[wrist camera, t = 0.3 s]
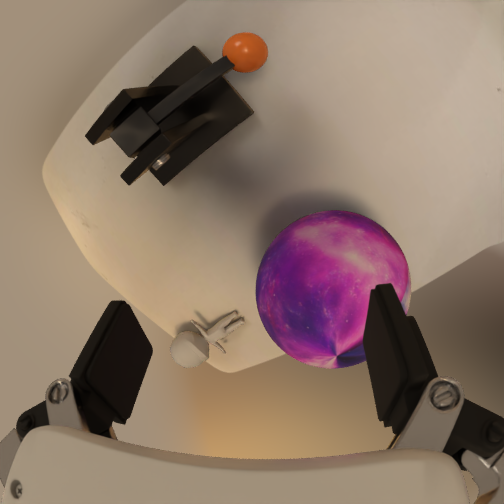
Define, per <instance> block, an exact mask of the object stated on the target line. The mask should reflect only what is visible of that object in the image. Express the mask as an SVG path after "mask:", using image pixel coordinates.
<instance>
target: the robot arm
mask: <svg viewBox="0 0 504 504" xmlns="http://www.w3.org/2000/svg"><path fill="white" fill-rule="evenodd" d="M363 348H364V352H365V356H366V361H367V365H368V369H369V374H370V379H371V383H372V388H373V393H374V398H375V404H376V409H377V414H378V419H379V421H383V422H384V427H389V426H392V430H393V433H394V434H395V436H394V437H393V439H392V441H391V442H390V444H389V445H388V447H387V449H386V450H379V451H371V452H363V453H355V454H348V455H339V456H330V457H316V458H301V459H236V458H220V457H209V456H200V455H192V454H184V453H177V452H171V451H165V450H160V449H154V448H149V447H144V446H139V445H135V444H130V443H126V442H122V441H118V439H117V437H116V435H115V433H114V430H113V427H112V422H113V421H114V422H116V423H120V424H125V423H126V420H127V419H128V418H130V416H131V413H132V410H133V407H134V404H135V401H136V398H137V395H138V392H139V390H140V387H141V384H142V381H143V378H144V376H145V373H146V370H147V367H148V364H149V361H150V359H151V356H152V353H153V348H152V345H151V344H150V342H149V340H148V338H147V337H146V335H145V333H144V331H143V330H142V328H141V326H140V324H139V322H138V320H137V318H136V317H135V315H134V313H133V311H132V309H131V307H130V305H129V304H127V303H126V302H125V301H111V302H110V303H109V305H108V306H107V308H106V310H105V311H104V313H103V315H102V316H101V318H100V320H99V321H98V323H97V325H96V327H95V328H94V330H93V332H92V334H91V335H90V337H89V339H88V341H87V343H86V344H85V346H84V348H83V350H82V352H81V354H80V355H79V357H78V359H77V361H76V363H75V365H74V367H73V369H72V371H71V373H70V375H69V377H70V378H71V381H70V382H69V381H68V380H67V379H64V378H60V379H57V380H55V381H54V382H52V383H51V384H50V386H49V388H48V389H47V391H46V398H45V399H46V400H45V401H43V402H42V403H40V404H38V405H36V406H34V407H32V408H31V409H29V410H27V411H25V412H24V413H23V414H21V416H20V417H19V419H18V421H17V425H16V429H17V430H16V429H15V428H14V429H13V430H12V431H11V432H10V433H9V434H8V435H7V436H6V437H5V438H4V439H3V440H2V441H1V442H0V479H1V482H2V484H3V486H4V488H5V489H4V493H3V497H2V501H1V504H470V502H469V496H468V491H467V487H466V483H465V480H464V476H463V474H462V471H461V470H464V471H467V470H468V471H469V472H470V473H471V475H472V476H473V478H472V479H473V480H474V481H475V483H476V484H477V486H478V488H479V494H478V497H477V500H476V501H475V502H474V504H504V418H502V417H501V416H499V415H497V414H495V413H493V412H491V411H489V410H487V409H485V408H483V407H481V406H479V405H477V404H475V403H473V402H471V401H469V400H467V399H465V398H464V390H463V388H462V386H461V384H460V383H459V382H458V381H457V380H455V379H454V378H452V377H448V376H440V377H438V375H437V372H436V369H435V366H434V364H433V361H432V359H431V356H430V353H429V351H428V348H427V346H426V343H425V341H424V338H423V336H422V334H421V331H420V329H419V327H418V324H417V322H416V320H415V318H414V317H413V316H406V314H405V311H404V309H403V307H402V304H401V302H400V300H399V298H398V295H397V293H396V291H395V289H394V287H393V285H392V284H391V283H386V284H378V285H376V286H375V289H371V291H370V298H369V305H368V311H367V317H366V323H365V329H364V334H363Z"/></svg>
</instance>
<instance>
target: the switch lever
mask: <svg viewBox="0 0 504 504" xmlns="http://www.w3.org/2000/svg"><path fill="white" fill-rule="evenodd" d="M222 54H223V57H222V58H221V59H219V60H218V61H216V62H214V63H213V64H211V65H210V66H208V67H207V68H206V69H204V70H203V71H201V72H200V73H198V74H197V75H195V76H194V77H193V78H191V79H190V80H188V81H187V82H186V83H184V84H183V85H182V86H180V87H179V88H178V89H176V90H175V91H174V92H172V93H171V94H170V95H169V96H167V97H166V98H165V99H163V100H162V101H161V102H160V103H159V104H157V105H156V106H155V107H154V108H152V109H151V110H150V111H149V112H148V113H146V111H145V110H144V109H143V108H142V107H139V108H138V109H137V110H136V111H134V112H133V113H132V114H131V115H130V116H129V117H128V118H127V119H125V120H124V121H123V122H122V123H121V124H120V125H119V126H118V127H117V128H116V129H115V130H114V131H112V132H111V133H110V137H111V138H112V139H113V140H114V141H115V142H116V143H117V145H118V146H119V147H120V148H121V149H122V150H123V151H124V152H125V154H126V155H127V156H128V157H131V158H135V157H136V156H137V155H138V154H139V153H140V152H141V151H142V150H143V149H144V148H145V147H147V146H148V145H149V144H150V143H151V142H152V141H153V140H154V139H155V138H157V137H158V136H159V135H160V134H161V133H162V132H161V129H160V127H159V126H158V125H159V124H160V123H161V122H163V121H164V120H165V119H166V118H167V117H169V116H170V115H171V114H172V113H173V112H175V111H176V110H177V109H178V108H180V107H181V106H182V105H183V104H185V103H186V102H187V101H189V100H190V99H191V98H193V97H194V96H195V95H197V94H198V93H199V92H201V91H202V90H203V89H205V88H206V87H208V86H209V85H210V84H212V83H213V82H215V81H216V80H217V79H219V78H220V77H222V76H223V75H225V74H226V73H228V72H229V71H231V70H232V69H233V70H235V71H237V72H242V73H248V72H253V71H255V70H257V69H259V68H260V67H262V66H263V64H264V63H265V62H266V60H267V57H268V48H267V45H266V43H265V42H264V40H263V39H262V38H261V37H259V36H258V35H256V34H253V33H248V32H243V33H238V34H235V35H233V36H232V37H230V38H229V39H228V40H227V41H226V43H225V44H224V47H223V51H222Z"/></svg>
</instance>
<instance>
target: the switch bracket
mask: <svg viewBox="0 0 504 504" xmlns="http://www.w3.org/2000/svg"><path fill="white" fill-rule="evenodd" d="M211 64H212V63H211V61H210V60H209V59H208V58H207V57H206V56H205V55H204V54H203V53H202V52H201V51H200V50H199V49H198V48H197V47H196V46H192V47H191V48H190V49H189V50H188V51H186V52H185V53H184V54H183V55H182V56H180V57H179V58H178V59H177V60H176V61H175V62H174V63H172V64H171V65H170V66H169V67H168V68H167V69H166V70H165V71H164V72H163V73H161V74H160V75H159V76H158V77H157V78H156V79H155V80H154V81H153V82H152V83H151V84H150V85H149V86H148V87H139V88H129V89H123V90H122V91H121V92H120V93H119V94H118V96H117V97H116V98H115V99H114V100H113V101H112V102H111V103H109V104H108V105H107V107H106V108H105V110H104V112H103V113H102V114H101V116H100V117H99V118H98V119H97V121H96V122H95V123H94V124H93V126H92V127H91V128H90V130H89V131H88V132H87V134H86V135H85V137H86V138H87V139H88V140H89V142H90V143H91V144H92V145H95V144H97V143H99V142H101V141H103V140H106V139H108V138H110V133H111V132H112V131H114V130H115V129H116V128H117V127H118V126H119V125H120V124H121V123H122V122H123V121H124V120H125V119H127V118H128V117H129V116H130V115H131V114H132V113H133V112H134V111H136V110H137V109H138V108H139V107H142V108H143V109H144V110H145V111H146V113H148V112H149V111H150V110H151V109H152V108H154V107H155V106H156V105H157V104H159V103H160V102H161V101H162V100H163V99H165V98H166V97H167V96H169V95H170V94H171V93H172V92H174V91H175V90H176V89H178V88H179V87H180V86H182V85H183V84H184V83H186V82H187V81H188V80H190V79H191V78H193V77H194V76H195V75H197V74H198V73H200V72H201V71H203V70H204V69H206V68H207V67H208V66H210V65H211ZM253 113H254V111H253V110H252V109H251V107H250V106H249V105H248V104H247V103H246V101H245V100H244V99H243V98H242V97H241V95H240V94H239V93H238V92H237V91H236V90H235V88H234V87H233V86H232V85H231V84H230V83H229V81H228V80H227V79H226V78H225V77H224V76H222V77H220V78H219V79H217V80H216V81H215V82H213V83H212V84H210V85H209V86H208V87H206V88H205V89H203V90H202V91H201V92H199V93H198V94H197V95H195V96H194V97H193V98H191V99H190V100H189V101H187V102H186V103H185V104H183V105H182V106H181V107H180V108H178V109H177V110H176V111H175V112H173V113H172V114H171V115H170V116H169V117H167V118H166V119H165V120H164V121H163V122H161V123H160V124H159V125H158V126H159V127H160V129H161V132H162V133H161V134H160V135H159V136H158V137H157V138H155V139H154V140H153V141H152V142H151V143H150V144H149V145H148V146H147V147H145V148H144V149H143V150H142V151H141V152H140V153H139V154H138V155H137V158H136V159H135V160H134V161H133V162H132V163H131V164H130V165H129V166H128V167H127V168H126V169H125V171H124V172H123V173H122V174H121V175H120V176H121V178H122V179H123V180H124V181H125V182H126V183H127V184H128V185H131V184H132V183H133V182H135V181H136V180H137V179H138V178H139V177H141V176H142V175H143V174H144V173H146V172H147V171H148V170H150V171H151V173H152V174H153V175H154V176H155V177H156V178H157V179H158V180H159V181H160V183H161V184H162V185H163V186H164V185H166V184H167V183H168V182H169V181H170V180H171V179H172V178H173V177H174V176H176V175H177V174H178V173H179V172H180V171H181V170H183V169H184V168H185V167H186V166H187V165H188V164H190V163H191V162H192V161H193V160H194V159H195V158H197V157H198V156H199V155H200V154H202V153H203V152H204V151H205V150H206V149H208V148H209V147H210V146H211V145H213V144H214V143H215V142H216V141H218V140H219V139H220V138H221V137H223V136H224V135H225V134H227V133H228V132H229V131H230V130H232V129H233V128H234V127H236V126H237V125H238V124H240V123H241V122H242V121H244V120H245V119H246V118H248V117H249V116H251V115H252V114H253Z"/></svg>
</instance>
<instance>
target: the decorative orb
mask: <svg viewBox="0 0 504 504" xmlns="http://www.w3.org/2000/svg"><path fill="white" fill-rule="evenodd" d="M386 283H391V284H392V285H393V287H394V289H395V291H396V293H397V295H398V298H399V300H400V302H401V304H402V307H403V309H404V311H405V314H406V315H407V312H408V308H409V304H410V298H411V278H410V272H409V268H408V264H407V261H406V259H405V256H404V254H403V252H402V250H401V248H400V247H399V245H398V243H397V242H396V241H395V239H394V238H393V237H392V236H391V235H390V234H389V233H388V232H387V231H386V230H385V229H384V228H383V227H382V226H380V225H379V224H377V223H376V222H374V221H373V220H371V219H369V218H367V217H365V216H362V215H360V214H356V213H353V212H348V211H339V210H331V211H322V212H317V213H313V214H310V215H307V216H305V217H303V218H300V219H298V220H297V221H295V222H293V223H292V224H290V225H289V226H288V227H286V228H285V229H284V230H283V231H282V232H281V233H279V235H278V236H277V237H276V238H275V239H274V240H273V242H272V243H271V244H270V246H269V247H268V249H267V251H266V252H265V254H264V256H263V258H262V261H261V264H260V266H259V270H258V274H257V280H256V302H257V308H258V312H259V315H260V318H261V321H262V323H263V325H264V327H265V329H266V331H267V332H268V334H269V336H270V337H271V338H272V340H273V341H274V342H275V343H276V344H277V345H278V346H279V347H280V348H281V349H282V350H283V351H284V352H286V353H287V354H288V355H290V356H291V357H293V358H295V359H296V360H298V361H300V362H303V363H305V364H308V365H311V366H316V367H321V368H344V367H348V366H353V365H356V364H359V363H361V362H364V361H366V356H365V352H364V348H363V334H364V329H365V323H366V317H367V311H368V305H369V298H370V291H371V289H375V286H376V285H378V284H386Z"/></svg>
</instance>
